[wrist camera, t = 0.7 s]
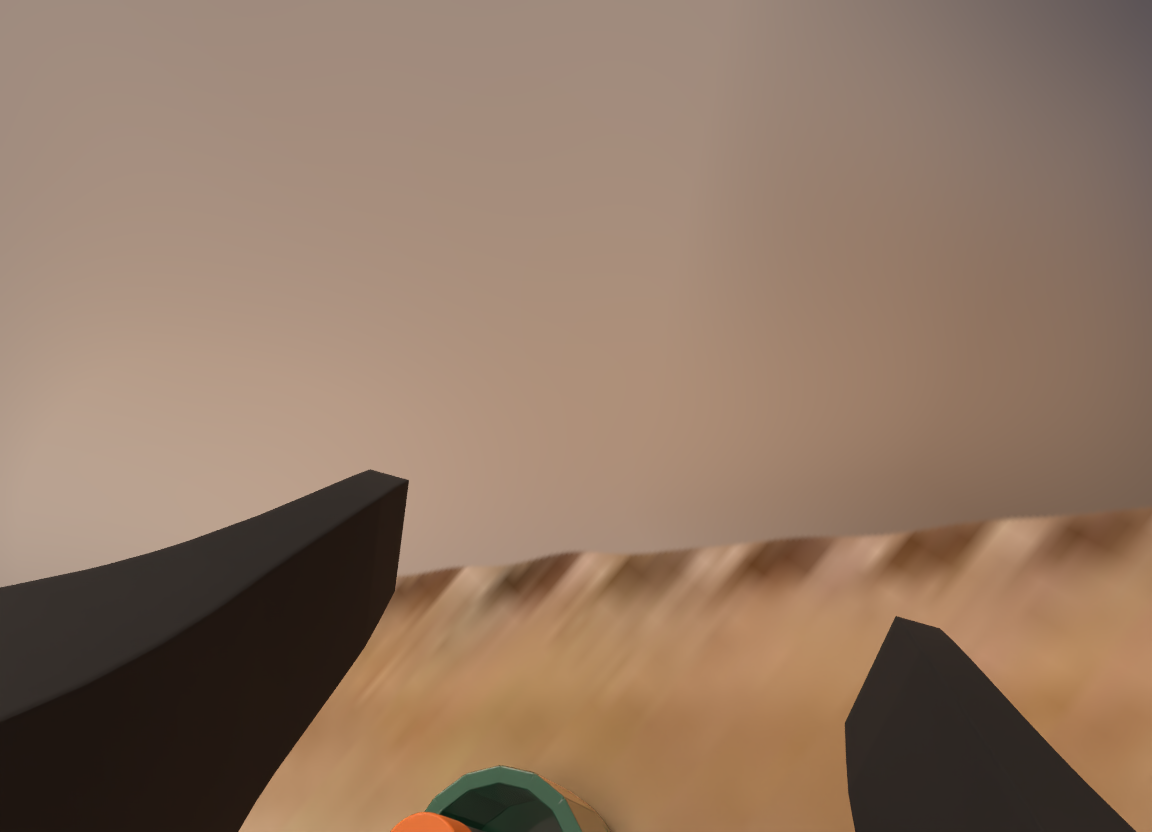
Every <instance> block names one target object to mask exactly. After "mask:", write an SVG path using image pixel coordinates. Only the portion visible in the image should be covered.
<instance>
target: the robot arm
mask: <svg viewBox="0 0 1152 832" xmlns="http://www.w3.org/2000/svg"><path fill="white" fill-rule="evenodd" d="M408 483H409V480H406V479H402V478H399V477H395V476H392V475H388V474H384V473H380V472H377V471H374V470H368V471H365V472H362V473H359V474H357V475H354V476H352V477H349V478H347V479H344V480H342V481H340V482H337V483H335V484H333V485H330V486H328V487H325V488H323V489H321V490H318V491H316V492H314V493H311V494H309V495H307V496H304V497H302V498H300V499H297V500H295V501H292V502H290V503H287V504H285V505H282V506H280V507H278V508H275V509H273V510H270V511H268V512H266V513H263V514H261V515H258V516H256V517H253V518H250V519H247V520H245V521H242V522H239V523H236V524H234V525H231V526H228V527H225V528H223V529H220V530H217V531H214V532H212V533H209V534H206V535H204V536H201V537H198V538H195V539H193V540H190V541H186V542H183V543H180V544H177V545H174V546H171V547H168V548H164V549H161V550H158V551H155V552H151V553H148V554H144V555H140V556H137V557H133V558H129V559H126V560H122V561H118V562H115V563H111V564H108V565H104V566H99V567H96V568H91V569H87V570H82V571H78V572H73V573H68V574H63V575H59V576H54V577H49V578H44V579H39V580H35V581H30V582H25V583H20V584H16V585H11V586H6V587H1V588H0V832H238V831H239V829H240V828H241V826H242V824H243V823H244V821H245V819H246V817H247V816H248V814H249V812H250V811H251V809H252V807H253V806H254V804H255V802H256V801H257V799H258V798H259V796H260V795H261V793H262V792H263V790H264V789H265V787H266V785H267V784H268V782H269V781H270V779H271V778H272V776H273V775H274V773H275V772H276V770H277V769H278V768H279V766H280V765H281V764H282V762H283V761H284V759H285V758H286V757H287V755H288V754H289V752H290V751H291V750H292V748H293V747H294V745H295V744H296V743H297V741H298V740H299V739H300V737H301V736H302V734H303V733H304V732H305V730H306V729H307V727H308V726H309V725H310V723H311V722H312V721H313V719H314V718H315V716H316V715H317V714H318V712H319V711H320V709H321V708H322V707H323V705H324V704H325V703H326V701H327V700H328V698H329V697H330V696H331V694H332V693H333V691H334V690H335V689H336V687H337V686H338V684H339V683H340V682H341V680H342V679H343V677H344V676H345V675H346V673H347V672H348V670H349V669H350V668H351V666H352V665H353V663H354V662H355V660H356V659H357V658H358V656H359V655H360V653H361V652H362V650H363V649H364V647H365V646H366V644H367V642H368V640H369V639H370V637H371V635H372V633H373V631H374V630H375V628H376V626H377V624H378V622H379V620H380V618H381V617H382V615H383V613H384V611H385V609H386V607H387V605H388V603H389V601H390V599H391V597H392V595H393V593H394V592H395V585H396V577H397V569H398V562H399V554H400V545H401V538H402V530H403V522H404V514H405V507H406V499H407V490H408ZM845 739H846V764H847V778H848V793H849V799H850V805H851V810H852V816H853V821H854V827H855V832H1136V831H1135V830H1134V829H1133V828H1132V827H1131V826H1130V825H1129V824H1128V823H1127V822H1126V821H1125V820H1124V819H1123V818H1122V817H1121V816H1120V815H1119V814H1118V813H1117V812H1116V811H1115V810H1113V809H1112V808H1111V807H1110V806H1109V805H1108V804H1107V803H1106V802H1105V801H1104V800H1103V799H1102V798H1101V797H1100V796H1099V795H1098V794H1097V793H1096V792H1095V791H1094V790H1093V789H1092V788H1091V787H1090V786H1089V785H1088V784H1087V783H1086V782H1085V781H1084V780H1083V779H1082V778H1081V777H1080V776H1079V775H1078V774H1077V773H1076V772H1075V771H1074V770H1073V769H1072V768H1071V767H1070V766H1069V764H1068V763H1067V762H1066V761H1065V760H1064V759H1063V758H1062V757H1061V756H1060V755H1059V754H1058V753H1057V752H1056V751H1055V750H1054V749H1053V748H1052V747H1051V746H1050V745H1049V744H1048V743H1047V741H1046V740H1045V739H1044V738H1043V737H1042V736H1041V735H1040V734H1039V733H1038V732H1037V731H1036V730H1035V729H1034V728H1033V726H1032V725H1031V724H1030V723H1029V722H1028V721H1027V720H1026V719H1025V718H1024V717H1023V716H1022V715H1021V714H1020V712H1019V711H1018V710H1017V709H1016V708H1015V707H1014V706H1013V705H1012V704H1011V703H1010V702H1009V700H1008V699H1007V698H1006V697H1005V696H1004V695H1003V694H1002V693H1001V692H1000V691H999V689H998V688H997V687H996V686H995V685H994V684H993V683H992V682H991V681H990V680H989V679H988V677H987V676H986V675H985V674H984V673H983V672H982V671H981V670H980V669H979V668H978V667H977V665H976V664H975V663H974V662H973V661H972V660H971V659H970V658H969V657H968V656H967V655H966V654H965V653H964V652H963V651H962V650H961V649H960V647H959V646H958V645H957V644H956V643H955V642H954V641H953V640H952V639H951V638H950V637H948V636H947V635H946V634H945V633H944V632H943V631H942V630H941V629H940V628H936V627H933V626H929V625H925V624H922V623H918V622H915V621H911V620H907V619H904V618H900V617H897V616H896V617H895V619H894V621H893V623H892V625H891V627H890V629H889V632H888V634H887V636H886V638H885V640H884V642H883V644H882V646H881V648H880V650H879V653H878V655H877V657H876V659H875V661H874V663H873V665H872V667H871V669H870V672H869V674H868V676H867V678H866V680H865V682H864V684H863V686H862V688H861V690H860V693H859V695H858V697H857V699H856V701H855V703H854V705H853V707H852V709H851V711H850V714H849V716H848V718H847V720H846V722H845Z"/></svg>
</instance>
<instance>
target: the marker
mask: <svg viewBox="0 0 1152 832" xmlns="http://www.w3.org/2000/svg"><path fill="white" fill-rule="evenodd" d="M391 832H485V831H481V830H478V829H475V828H472V827H469V826H466V825H464V824H463V823H461V822H459V821H457V820H454V819H451V818H448V817H445V816H442V815H439V814H436V813H431V812H421V813H416V814H413V815H411V816H409V817H407V818H405V819H404V820H402V821H401V822H400V823H398V824H397V825H396V826H395V827H394V828H393V829H392V830H391Z"/></svg>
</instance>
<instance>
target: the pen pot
mask: <svg viewBox="0 0 1152 832" xmlns="http://www.w3.org/2000/svg"><path fill="white" fill-rule="evenodd" d="M425 812H431V813H436V814H439V815H442V816H445V817H448V818H451V819H454V820H457V821H459V822H461V823H463V824H464V825H466V826H469V827H472V828H475V829H478V830H481V831H485V832H610V830H609V828H608V827H607V825H606V823H605V822H604V821H603V819H602V818H601V817H600V816H599V814H598V813H597V812H596V811H595V810H594V809H593V808H592V807H591V806H590V805H589V804H587V803H586V802H584V801H583V800H582V799H580V798H579V797H577V796H576V795H574V794H573V793H572V792H571V791H569V790H567V789H565V788H563V787H561V786H559V785H557V784H555V783H554V782H552V781H550V780H548V779H546V778H544V777H542V776H540V775H538V774H536V773H534V772H530V771H525V770H521V769H516V768H512V767H508V766H500V765H499V766H495V767H491V768H487V769H483V770H479V771H475V772H470V773H467V774H465V775H463V776H462V777H461V778H459V779H458V780H457V781H455V782H454V783H453V784H451V785H450V786H449V787H447V788H446V789H445V790H443V791H442V792H441V793H439V794H438V795H437V796H435V798H434V799H433V800H432V801H431V803H430V804H429V806H428V807H427V809H426V810H425Z"/></svg>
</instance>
